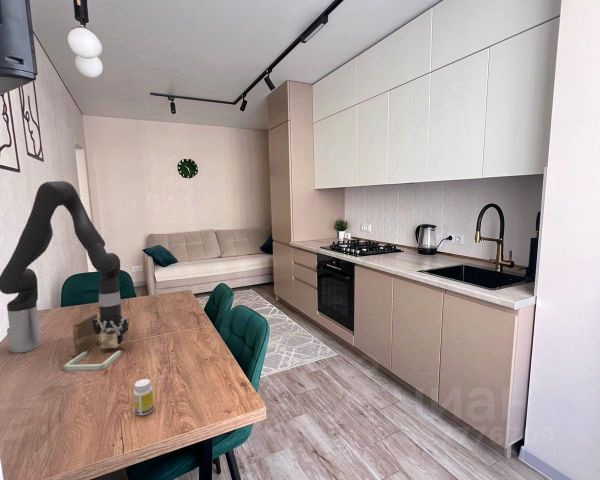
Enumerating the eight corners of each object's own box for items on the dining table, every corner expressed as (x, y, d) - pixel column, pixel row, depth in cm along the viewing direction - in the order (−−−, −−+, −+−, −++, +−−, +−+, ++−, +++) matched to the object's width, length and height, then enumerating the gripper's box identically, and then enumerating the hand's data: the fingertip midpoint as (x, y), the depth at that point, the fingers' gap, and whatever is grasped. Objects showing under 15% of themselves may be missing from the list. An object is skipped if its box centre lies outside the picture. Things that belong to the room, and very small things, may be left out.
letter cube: (101, 348, 130) (100, 334, 129) (109, 342, 135) (108, 329, 135) (115, 348, 130) (114, 334, 129) (122, 342, 135) (122, 329, 135)
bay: (62, 370, 116) (62, 366, 116) (84, 355, 128) (83, 351, 128) (103, 369, 116) (102, 365, 116) (121, 354, 129) (120, 350, 128)
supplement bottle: (156, 405, 95) (154, 377, 94) (149, 415, 90) (147, 386, 89) (139, 406, 95) (137, 378, 94) (131, 416, 90) (129, 387, 89)
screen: (71, 357, 126) (68, 325, 125) (91, 343, 139) (89, 314, 138) (84, 357, 126) (81, 325, 125) (103, 343, 139) (101, 314, 138)
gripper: (85, 306, 127) (88, 347, 129) (123, 305, 127) (125, 347, 129) (97, 300, 134) (99, 339, 136) (132, 300, 135) (134, 339, 136)
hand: (112, 343), depth 132 cm, fingers closed on letter cube, 5 cm apart
